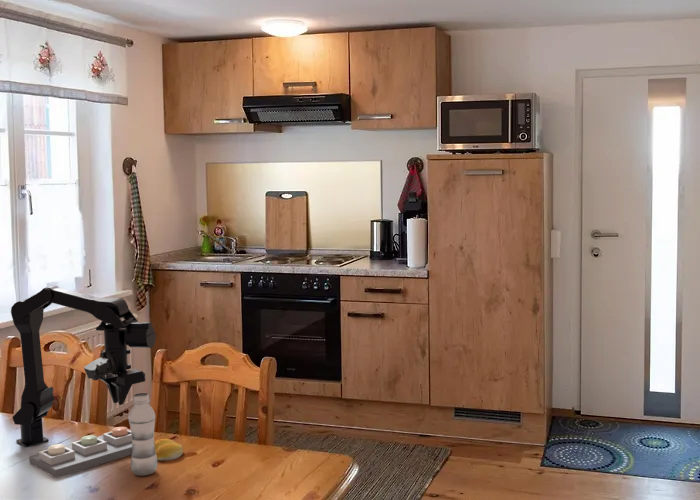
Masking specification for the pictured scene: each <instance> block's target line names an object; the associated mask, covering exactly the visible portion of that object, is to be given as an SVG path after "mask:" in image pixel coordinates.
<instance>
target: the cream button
mask: <svg viewBox="0 0 700 500" xmlns="http://www.w3.org/2000/svg"><path fill="white" fill-rule="evenodd" d="M65 446H66V445H65V444H62V443H61V444H60V443H57V444H52V445H49V446H48V447H47V449H48V455H50V456H56V455H60V454H63V453H65Z"/></svg>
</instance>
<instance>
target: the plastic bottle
mask: <svg viewBox="0 0 700 500" xmlns="http://www.w3.org/2000/svg"><path fill="white" fill-rule="evenodd" d="M132 398H133V401H132V404H134V405H133V406H132V408H131V409H130V411H129V413H128V424H129V427H130V428H129V429H130V431H131V437H132V454H131V456H130V457H131V458H130V469H131V471H132V473H133V474H134V475H135V476H144V477H145V476H149V475H151V474H154V473H155V472H156V470H157V469H158V464H159V463H158V462H159V460H157V456H156V452H155V444H154V442H155V425H156V424H155V423H156V413H155V410H154V409H153V407H152V406H151V404H150V394H149V393H147V392H138V393H135V394H133V397H132Z"/></svg>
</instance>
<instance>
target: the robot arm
mask: <svg viewBox="0 0 700 500" xmlns="http://www.w3.org/2000/svg"><path fill="white" fill-rule="evenodd" d="M52 304H55V305H59V306H63V307H66V308H70V309H74V310H77V311H80V312H85V313H87V314H90V315H92V316H93V317H94V318H95V319H96V320H99V321H101V322H100V323H99V325H98V326H96V327H95V330H96V331H102V332H103V340H104V349H103V350H101V352H100V357H98V358H97V359H95V360H93V361H91V362H90V363H88V364H86V365H85V366H84V367H83V369H84V372H85V373H86V376H87V378H88V379H90V380H93V381H99V380H100V381H102V382H104V383H105V385H106V387H107V389H108V391H109V394H110V397H111V399H112V402H113V404H117V403H118V406H124V403H125V401H126V399H127V397H128V394H129V392H130V389H131V387H132V386H133V385H136V384H139V383H144V382H145V383H146V379H147V378H146V373H145V372H144V371H143V370H140V369H137V368H134V369H132V364H129V363H128V361H129V360H128V355H129V354H131V349H128V347H129V348H138V349H140V348H142V349H152V348H154V345H155V343H156V339H157V337H156V335H157V334H156V332H155V329H154V327H153V326H152V322H151V321H143V322H142V321H141V322H140V321H139V322H138V319H137V318H136V317H135V315H134V314H133V313H132V311H131V310H130V309H129V306H128V303H127V301H126V300H125V299H123V298H120V297H98V296H97V297H96V296H92V295H89V294H86V293H85V294H84V293H82V292H77V291H74V290H70V289H66V288H61V287H59V286H57V285H51V286H47V287H44V288H42V290H40V291H39V292H37V293H35V294H33V295H32V296H29V297H28V298H25V299H22V300H19V301H16V302H15V303H14V304H13V305H12V306H11V308H10V315H11V318H12V322H13V325H14V327H15V329H16V330H17V331H18V332H19V336H20V346H21V354H22V363H23V364H22V365H23V374H24V375H23V376H24V387H23V391H22V394H21V397H20V408H19V410H17V412H15V414H14V415H13V416H12V421H13V423H14V425H20V427H19V428H20V438H18V439H16V440H15V442H16V443H18V444H20V445H22V446H24V447H25V448H27V447H31V446H32V447H33V446H35V445H39V444H42V443H47V442H49V441H50V440H49V438H47V437H46V436H44V427H43V425H44V424H43V418H44V417H47V416H48V414H49V410H51V408H52V407H53V406H54V402H55V401H56V399H55V397H54V386H48V385H47V383H46V382H45V377H44V368H43V367H44V365H43V357H42V347H41V346H42V345H41V338H40V336H41V335H40V329H41V326H42V323H43V321H44V313H45V312H44V310H45V309H47V308H48V307H50V306H51V305H52Z"/></svg>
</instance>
